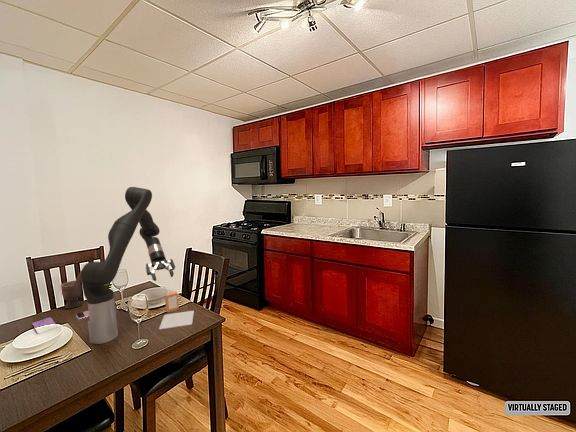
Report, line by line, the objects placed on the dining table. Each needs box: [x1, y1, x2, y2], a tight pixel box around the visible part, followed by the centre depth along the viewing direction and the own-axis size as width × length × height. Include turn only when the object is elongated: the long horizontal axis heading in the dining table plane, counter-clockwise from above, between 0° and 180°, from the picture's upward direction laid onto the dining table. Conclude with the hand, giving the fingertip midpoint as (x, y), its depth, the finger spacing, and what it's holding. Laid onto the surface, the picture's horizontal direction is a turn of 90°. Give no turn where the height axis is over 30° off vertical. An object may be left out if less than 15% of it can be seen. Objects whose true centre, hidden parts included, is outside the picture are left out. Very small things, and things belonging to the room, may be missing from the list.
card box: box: [164, 291, 180, 314], centre depth 138 cm, size 3×6×9 cm, turn 130°
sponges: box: [31, 317, 56, 329], centre depth 126 cm, size 7×13×2 cm, turn 51°
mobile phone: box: [75, 310, 89, 320], centre depth 139 cm, size 8×1×15 cm
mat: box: [158, 310, 195, 331], centre depth 129 cm, size 14×14×1 cm
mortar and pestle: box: [60, 269, 83, 309], centre depth 147 cm, size 12×9×20 cm
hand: (164, 278), depth 146 cm, fingers open, 8 cm apart
